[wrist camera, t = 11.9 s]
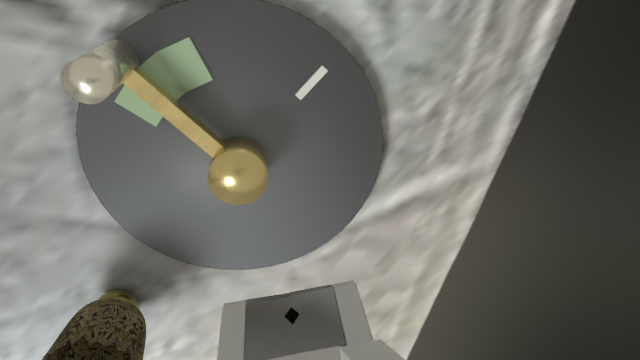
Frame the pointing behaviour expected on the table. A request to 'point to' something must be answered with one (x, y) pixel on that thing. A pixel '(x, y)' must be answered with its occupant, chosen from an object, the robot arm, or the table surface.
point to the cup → (103, 331)
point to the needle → (170, 119)
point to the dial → (235, 134)
